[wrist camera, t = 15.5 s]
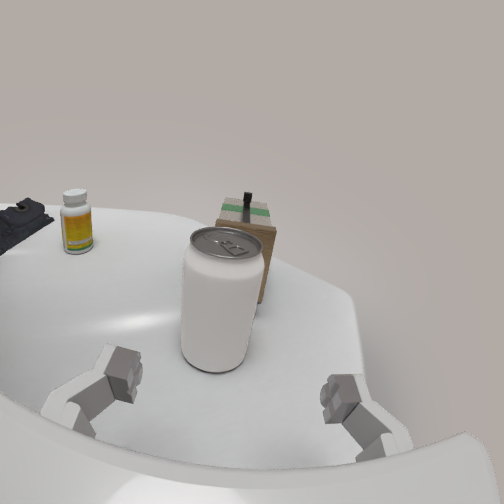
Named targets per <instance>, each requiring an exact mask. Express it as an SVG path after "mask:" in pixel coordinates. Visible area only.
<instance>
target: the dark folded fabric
mask: <svg viewBox="0 0 504 504" xmlns="http://www.w3.org/2000/svg"><path fill="white" fill-rule="evenodd" d="M16 205H17V206H18V207H8V208H7V209H6V210H1V211H0V256H1V255H2V254H4V253H5V252H6V251H7V250H9V249H11V248H12V247H14V246H15V245H17V244H18V243H20V242H22V241H23V240H25V239H26V238H28V237H29V236H30V235H33V234H34V233H35V232H37V231H38V230H40V229H42V228H43V227H45V226H46V225H48V224H50V223H51V222H53V221H54V219H53V218H52V217H49V216H48V214H44V211H45V206H44V205H43V204H41V203H38V202H35V201H33V200H31V199H30V198H26V199H25V200H23V201H20V202H19V203H16Z"/></svg>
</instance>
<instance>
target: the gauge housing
mask: <svg viewBox="0 0 504 504" xmlns="http://www.w3.org/2000/svg"><path fill="white" fill-rule="evenodd" d="M243 203H244V202H243V200H240V199H232V198H225V201H224V203H223V206H222V210H221V213H220V217H219V219H223V220H230V221H237V222H242V215H243ZM250 223H251V224H258V225H264V226H271V222H270V214H269V210H268V208H267V204H266V203H260V202H253V201H251V203H250ZM271 227H272V226H271ZM257 303H260V304H261V302H257Z"/></svg>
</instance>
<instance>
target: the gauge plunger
mask: <svg viewBox="0 0 504 504" xmlns="http://www.w3.org/2000/svg"><path fill="white" fill-rule="evenodd" d="M251 199H252V193H249V192H245V193H244V199H243V202H244V203H243V215H242V222H237V221H230V220H223V219H217V220H216V226H215V227H228V228H234V229H239V230H242V231H245V232H248V233H250V234H252V235H254V236H255V237H257V238H258V239H259V240H260V241H261V242H262V244H263V250H262V252H261V253H262V256H263V259H264V272H263V278H262V282H261V287H260V292H259V297H258V302H262V297H263V293H264V288H265V284H266V279H267V274H268V270H269V265H270V260H271V256H272V251H273V246H274V241H275V237H276V232H277V231H276V228H275V227H271V226H264V225H258V224H251V223H250V203H251Z"/></svg>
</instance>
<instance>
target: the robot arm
mask: <svg viewBox="0 0 504 504" xmlns="http://www.w3.org/2000/svg"><path fill="white" fill-rule="evenodd" d="M140 359H141V355H140V352H137V351H133V350H129V349H126V348H122V347H119V346H115V345H111V344H108V343H107V344H106V345H105V346H104V348H103V350H102V352H101V354H100V356H99V357H98V359H97V361H96V363H95V365H94V368H93V370H88V371H86V372H84V373H82V374H81V375H79V376H77V377H76V378H74V379H72V380H70V381H69V382H67V383H65V384H63V385H62V386H60V387H58V388H56V389H55V390H53V391H51V392H50V394H49V396H48V397H47V399H46V401H45V403H44V405H43V407H42V410H41V412H40V414H38V413H36V412H34V411H32V410H30V409H29V408H27V407H25V406H23V405H22V404H20V403H18V402H16V401H15V400H13V399H11V398H10V397H8V396H7V395H5V394H3V393H2V392H0V504H501V500H500V494H499V489H498V485H497V480H496V476H495V472H494V469H493V466H492V462H491V459H490V456H489V454H488V451H487V449H486V447H485V445H484V444H483V443H482V442H481V441H480V440H479V439H477V438H476V437H474V436H473V435H472V434H470V433H468V432H461V433H459V434H456V435H454V436H451V437H449V438H446V439H443V440H441V441H438V442H435V443H432V444H429V445H426V446H423V447H420V448H416V449H414V446H413V444H412V441H411V438H410V435H409V432H408V430H407V428H406V427H405V426H404V425H402V424H401V423H400V422H399V421H397V420H396V419H395V418H394V417H393V416H392V415H391V414H389V413H388V412H387V411H386V410H385V409H383V408H382V407H381V406H380V405H379V404H378V403H376V402H375V401H372V399H371V396H370V394H369V391H368V388H367V385H366V383H365V380H364V377H363V375H362V374H333V375H330V376H329V377H328V379H327V381H328V383H327V384H325V385H323V387H322V389H321V393H320V402H321V405H322V406H323V407H324V408H325V409H324V411H323V416H324V421H325V424H336V423H342V425H343V426H344V427H345V429H346V430H347V431H348V432H349V433H350V434H351V436H352V437H353V438H354V439H355V440H356V441H357V443H358V444H359V445H360V446H361V447H362V448H363V451H362V452H361V453H359V454H358V455H357V456H356V457H355V459H356V463H350V464H343V465H335V466H327V467H316V468H303V469H240V468H227V467H216V466H207V465H200V464H193V463H187V462H181V461H175V460H170V459H165V458H160V457H156V456H151V455H147V454H143V453H139V452H136V451H132V450H128V449H125V448H122V447H118V446H115V445H112V444H109V443H106V442H103V441H100V440H97V439H95V436H96V432H95V431H94V429H93V428H92V426H91V424H90V423H89V422H90V421H91V420H92V419H93V418H95V417H96V416H97V415H98V414H99V413H101V412H102V411H103V410H104V409H106V408H107V407H108V406H109V405H110V404H112V403H113V402H114V401H115V399H116V400H119V401H123V402H127V403H131V404H134V401H135V398H136V395H137V389H136V386H138V385H139V384H140V382H141V379H142V373H143V367H142V364H141V363H140Z"/></svg>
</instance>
